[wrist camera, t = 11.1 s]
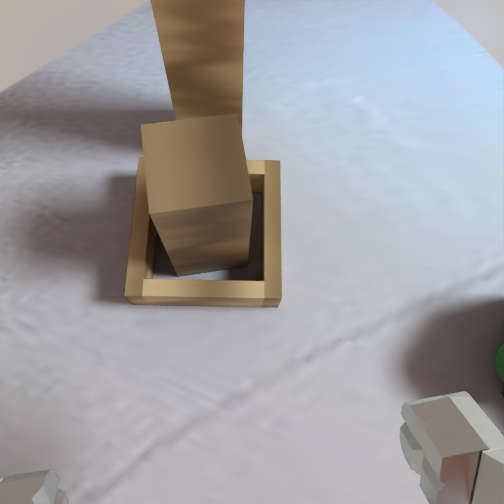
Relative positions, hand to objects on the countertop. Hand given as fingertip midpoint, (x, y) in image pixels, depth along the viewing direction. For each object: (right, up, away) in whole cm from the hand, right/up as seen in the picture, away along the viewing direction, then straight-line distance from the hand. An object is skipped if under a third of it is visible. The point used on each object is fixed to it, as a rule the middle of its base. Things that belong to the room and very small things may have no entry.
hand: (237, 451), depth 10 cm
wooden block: (-3, +6, +19) cm, 20 cm away
